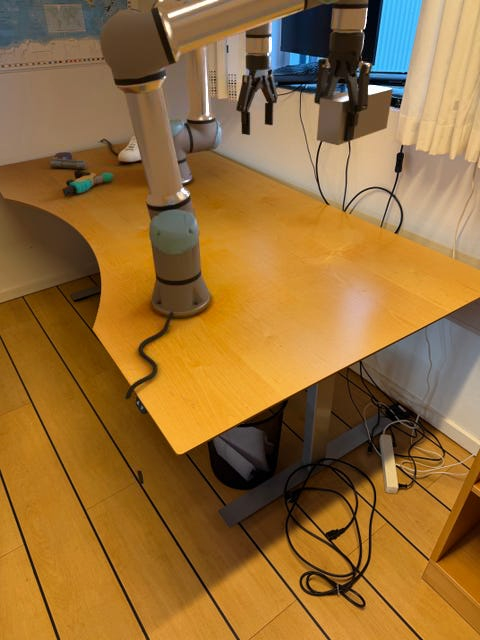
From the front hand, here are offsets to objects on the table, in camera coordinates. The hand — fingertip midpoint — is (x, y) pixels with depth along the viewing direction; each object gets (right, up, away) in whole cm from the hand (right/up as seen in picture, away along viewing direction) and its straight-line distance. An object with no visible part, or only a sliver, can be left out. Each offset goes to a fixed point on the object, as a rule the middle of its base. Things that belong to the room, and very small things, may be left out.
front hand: (336, 137), depth 120 cm
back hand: (-19, +15, +32) cm, 40 cm away
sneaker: (-74, +32, +107) cm, 134 cm away
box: (+5, +2, +4) cm, 7 cm away
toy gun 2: (-90, +8, +75) cm, 117 cm away
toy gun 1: (-101, +25, +99) cm, 144 cm away
